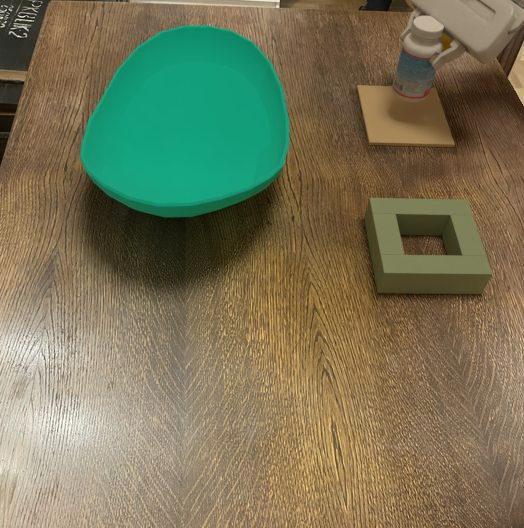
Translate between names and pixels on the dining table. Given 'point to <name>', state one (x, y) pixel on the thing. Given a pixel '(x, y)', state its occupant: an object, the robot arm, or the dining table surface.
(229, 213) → the dining table surface
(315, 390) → the dining table surface
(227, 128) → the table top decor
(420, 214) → the stand
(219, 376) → the dining table surface
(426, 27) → the pill bottle
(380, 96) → the mat
